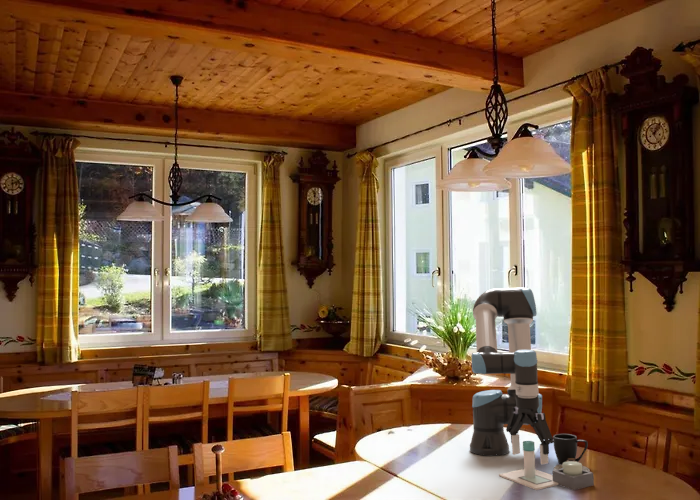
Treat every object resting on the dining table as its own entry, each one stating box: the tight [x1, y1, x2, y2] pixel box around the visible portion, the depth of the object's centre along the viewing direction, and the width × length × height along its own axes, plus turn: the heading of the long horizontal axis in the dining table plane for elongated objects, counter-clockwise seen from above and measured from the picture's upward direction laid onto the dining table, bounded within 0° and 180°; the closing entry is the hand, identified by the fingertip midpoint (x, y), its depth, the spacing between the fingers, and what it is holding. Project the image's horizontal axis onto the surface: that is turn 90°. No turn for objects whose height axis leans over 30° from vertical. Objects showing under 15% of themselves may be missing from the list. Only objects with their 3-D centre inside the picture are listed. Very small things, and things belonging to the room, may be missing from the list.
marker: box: [522, 440, 536, 478], centre depth 219 cm, size 4×4×12 cm
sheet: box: [498, 468, 559, 491], centre depth 219 cm, size 18×14×1 cm
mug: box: [552, 433, 588, 465], centre depth 235 cm, size 8×12×10 cm
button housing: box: [551, 468, 595, 491], centre depth 212 cm, size 9×9×4 cm
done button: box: [562, 461, 583, 476], centre depth 212 cm, size 6×6×4 cm
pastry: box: [553, 458, 591, 472], centre depth 227 cm, size 12×12×5 cm
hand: (530, 458), depth 220 cm, fingers open, 13 cm apart
